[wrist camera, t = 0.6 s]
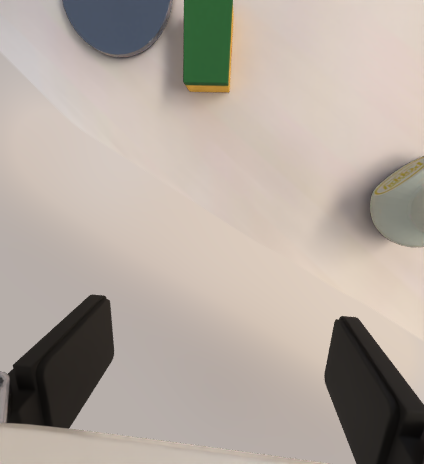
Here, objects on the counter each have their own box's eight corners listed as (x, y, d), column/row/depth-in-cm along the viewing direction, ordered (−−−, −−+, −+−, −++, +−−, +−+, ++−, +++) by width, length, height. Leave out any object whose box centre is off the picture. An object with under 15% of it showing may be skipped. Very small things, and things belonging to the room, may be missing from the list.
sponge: (190, 16, 30) (183, -5, 26) (233, 16, 30) (232, -6, 26) (189, 91, 32) (183, 82, 29) (229, 92, 32) (228, 83, 28)
